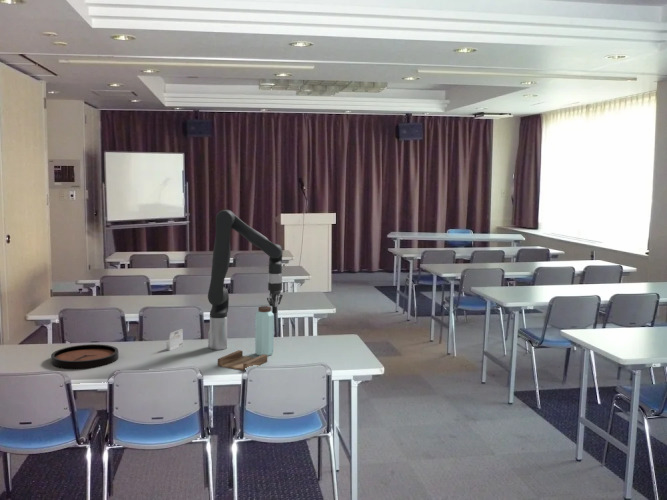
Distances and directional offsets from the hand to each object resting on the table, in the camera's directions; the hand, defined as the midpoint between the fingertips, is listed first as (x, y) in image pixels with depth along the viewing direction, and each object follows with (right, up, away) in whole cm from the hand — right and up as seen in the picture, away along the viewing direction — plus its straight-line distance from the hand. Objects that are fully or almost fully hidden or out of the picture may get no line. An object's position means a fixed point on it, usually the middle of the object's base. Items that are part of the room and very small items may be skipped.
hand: (274, 313), depth 336 cm
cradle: (-14, -23, -25) cm, 36 cm away
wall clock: (-93, -21, -23) cm, 98 cm away
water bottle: (-5, -21, -7) cm, 23 cm away
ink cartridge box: (-54, -19, +1) cm, 57 cm away
